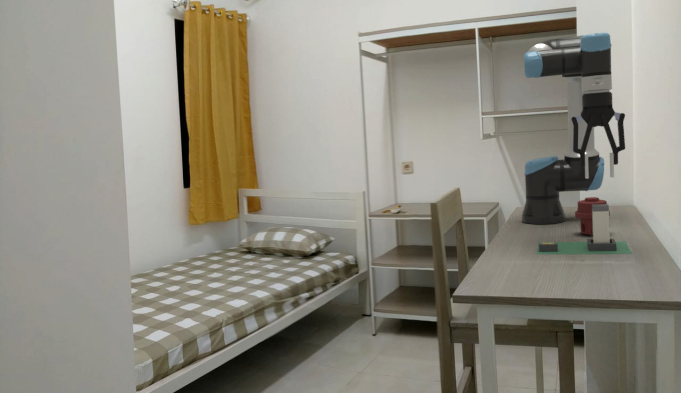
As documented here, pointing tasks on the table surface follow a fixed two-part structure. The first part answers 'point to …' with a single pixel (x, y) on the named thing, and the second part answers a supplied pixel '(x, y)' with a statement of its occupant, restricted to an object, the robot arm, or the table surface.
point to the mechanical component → (587, 214)
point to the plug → (600, 223)
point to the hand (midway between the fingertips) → (599, 177)
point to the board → (583, 247)
